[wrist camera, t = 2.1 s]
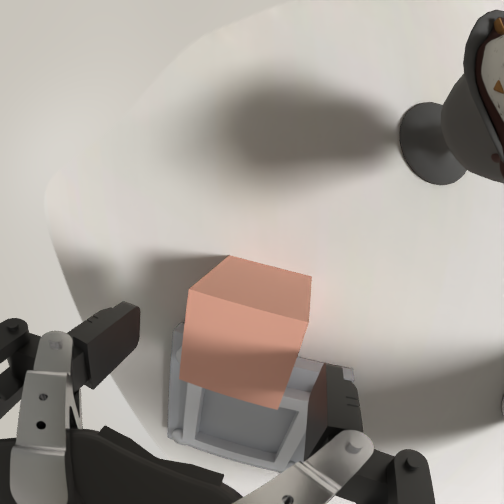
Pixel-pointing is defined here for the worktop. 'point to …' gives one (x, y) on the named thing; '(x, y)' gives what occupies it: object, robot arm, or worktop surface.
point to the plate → (242, 417)
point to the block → (245, 330)
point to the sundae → (463, 115)
